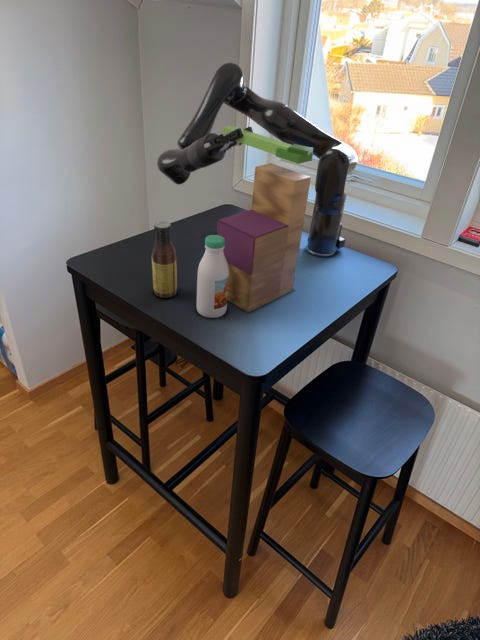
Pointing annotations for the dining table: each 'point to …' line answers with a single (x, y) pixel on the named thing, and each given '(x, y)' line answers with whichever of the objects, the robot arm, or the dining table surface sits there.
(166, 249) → the sauce bottle
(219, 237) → the milk bottle
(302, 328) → the dining table surface
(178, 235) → the dining table surface
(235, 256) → the towel
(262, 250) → the oak stand
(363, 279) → the dining table surface
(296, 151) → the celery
